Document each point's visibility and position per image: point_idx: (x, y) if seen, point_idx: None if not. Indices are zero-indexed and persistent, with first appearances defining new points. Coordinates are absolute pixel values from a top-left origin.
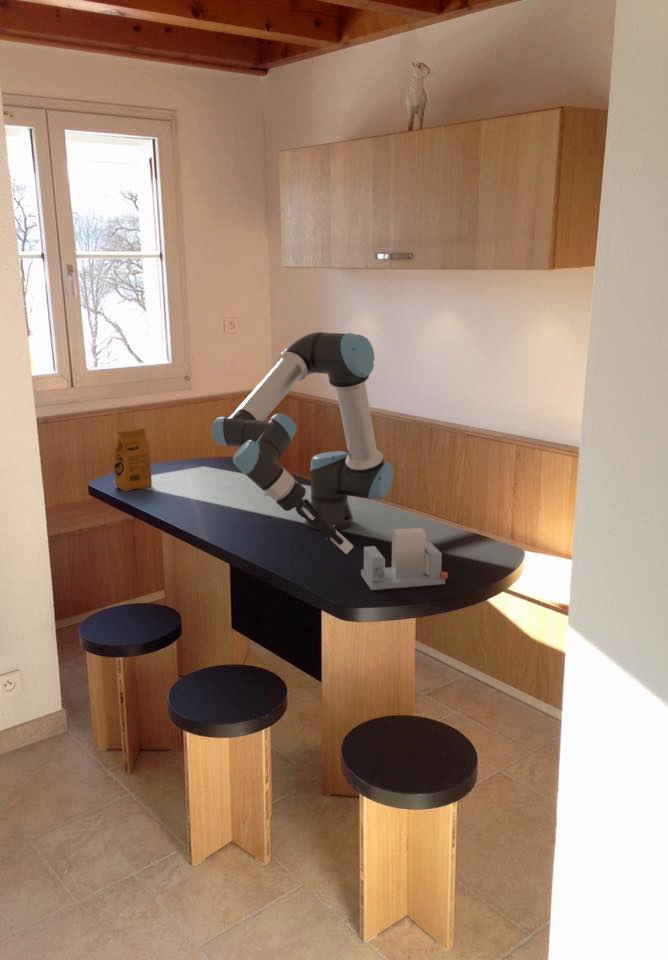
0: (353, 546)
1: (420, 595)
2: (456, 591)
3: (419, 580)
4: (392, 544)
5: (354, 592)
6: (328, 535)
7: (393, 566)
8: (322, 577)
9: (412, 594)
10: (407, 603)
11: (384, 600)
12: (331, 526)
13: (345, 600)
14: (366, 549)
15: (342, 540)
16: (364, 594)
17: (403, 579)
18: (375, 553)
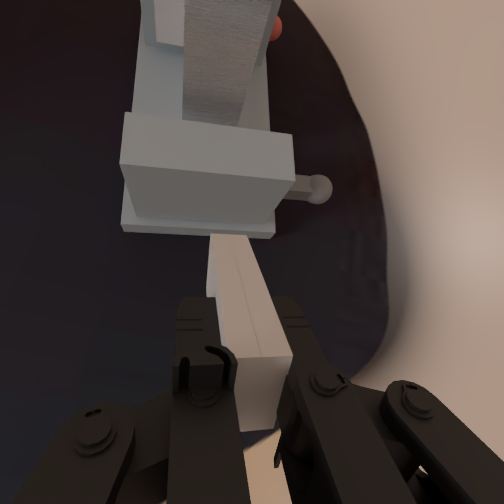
0: (241, 235)
1: (324, 130)
2: (310, 50)
3: (266, 93)
4: (194, 42)
5: (279, 295)
6: (427, 475)
7: (207, 119)
8: (100, 389)
9: (316, 145)
10: (370, 178)
11: (347, 226)
12: (234, 416)
13: (338, 339)
14: (165, 165)
15: (299, 307)
16: (299, 268)
17: (250, 128)
18: (236, 147)
